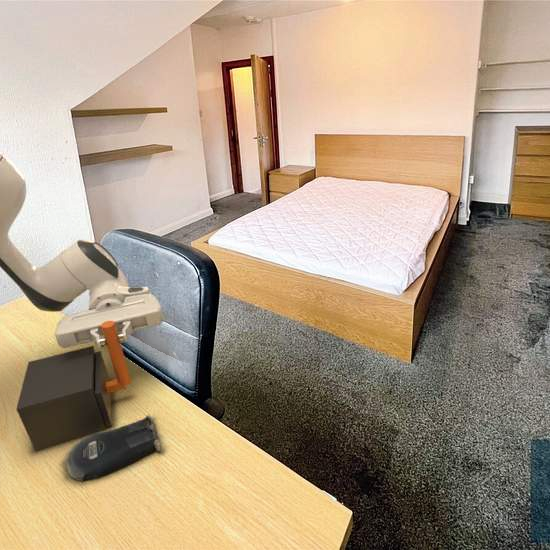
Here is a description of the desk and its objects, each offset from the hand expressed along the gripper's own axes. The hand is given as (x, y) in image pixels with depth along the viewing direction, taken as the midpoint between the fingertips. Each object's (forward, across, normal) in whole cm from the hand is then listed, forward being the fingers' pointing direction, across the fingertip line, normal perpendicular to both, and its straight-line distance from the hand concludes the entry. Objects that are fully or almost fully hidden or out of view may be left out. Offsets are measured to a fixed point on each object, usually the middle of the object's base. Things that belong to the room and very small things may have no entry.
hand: (112, 341), depth 77 cm
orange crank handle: (-1, -7, +14) cm, 16 cm away
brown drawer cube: (-1, -11, +16) cm, 19 cm away
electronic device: (+12, -3, +16) cm, 20 cm away
